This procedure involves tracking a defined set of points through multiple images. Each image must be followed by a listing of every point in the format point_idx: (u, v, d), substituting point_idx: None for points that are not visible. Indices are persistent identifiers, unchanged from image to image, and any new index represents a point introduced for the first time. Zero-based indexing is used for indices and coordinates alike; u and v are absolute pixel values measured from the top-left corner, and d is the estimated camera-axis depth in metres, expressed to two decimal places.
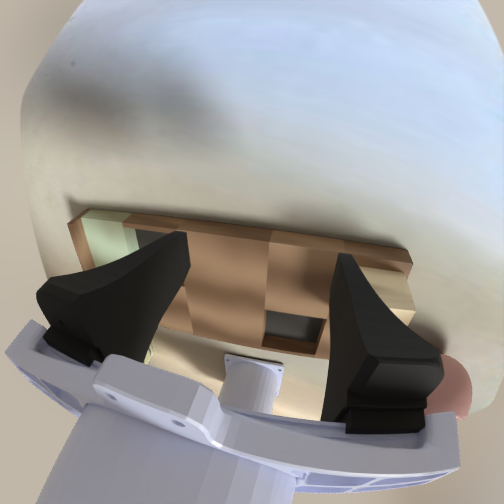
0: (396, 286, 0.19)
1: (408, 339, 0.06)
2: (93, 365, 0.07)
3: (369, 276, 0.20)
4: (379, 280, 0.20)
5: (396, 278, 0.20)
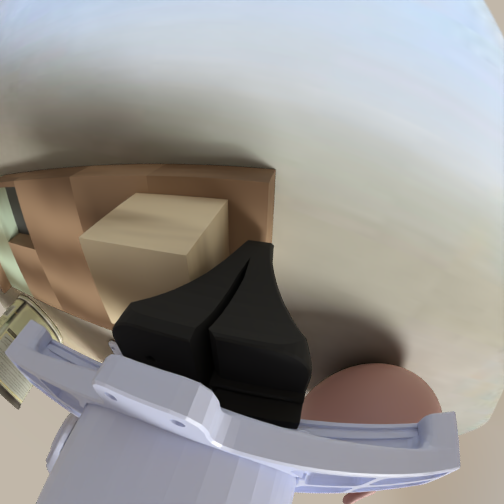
0: (186, 217, 0.11)
1: (274, 323, 0.07)
2: None
3: (149, 204, 0.12)
4: (161, 209, 0.11)
5: (200, 206, 0.12)
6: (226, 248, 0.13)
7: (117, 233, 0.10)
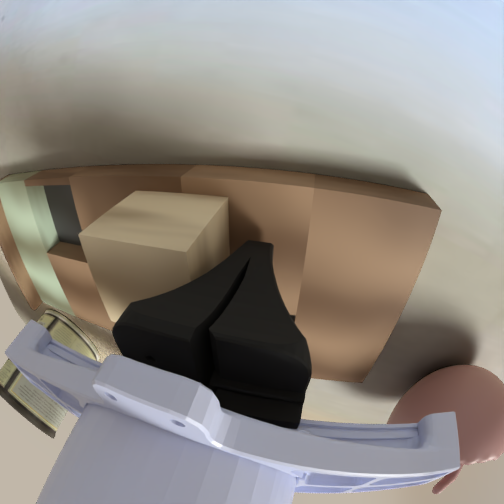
0: (186, 214, 0.11)
1: (274, 323, 0.07)
2: None
3: (150, 201, 0.12)
4: (161, 206, 0.11)
5: (200, 203, 0.12)
6: (226, 246, 0.13)
7: (117, 230, 0.10)
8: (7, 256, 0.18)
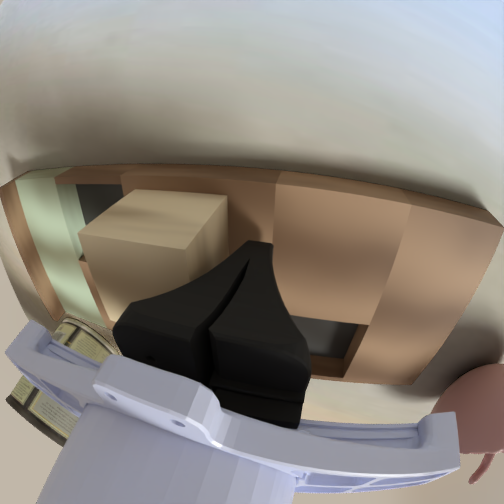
0: (185, 212, 0.11)
1: (274, 323, 0.07)
2: None
3: (149, 200, 0.12)
4: (160, 204, 0.11)
5: (199, 201, 0.12)
6: (225, 244, 0.13)
7: (116, 228, 0.10)
8: (26, 263, 0.18)
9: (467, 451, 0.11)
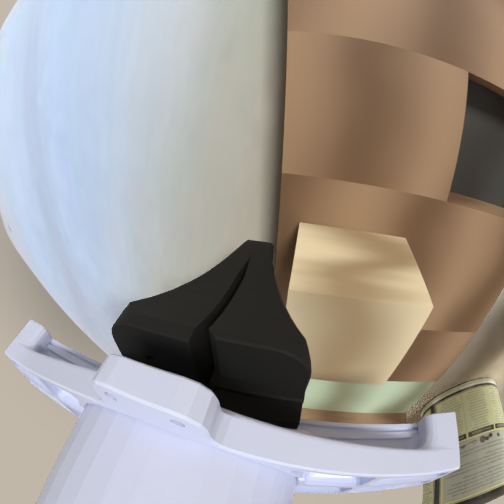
0: None
1: (274, 323, 0.07)
2: None
3: None
4: None
5: None
6: (352, 234, 0.11)
7: None
8: None
9: None
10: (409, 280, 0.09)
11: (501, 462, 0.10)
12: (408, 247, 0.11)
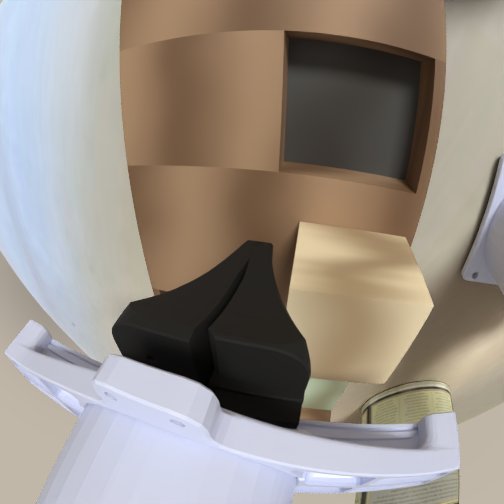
0: None
1: (274, 323, 0.07)
2: None
3: None
4: None
5: None
6: (352, 233, 0.11)
7: None
8: None
9: None
10: (409, 279, 0.09)
11: (441, 480, 0.11)
12: (408, 246, 0.11)
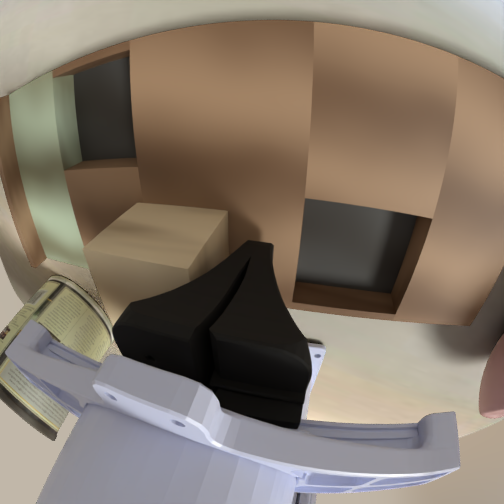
0: (187, 228, 0.11)
1: (274, 323, 0.07)
2: None
3: (151, 215, 0.12)
4: (162, 220, 0.12)
5: (200, 217, 0.12)
6: (226, 257, 0.14)
7: (120, 245, 0.10)
8: (7, 189, 0.14)
9: None
10: None
11: None
12: None
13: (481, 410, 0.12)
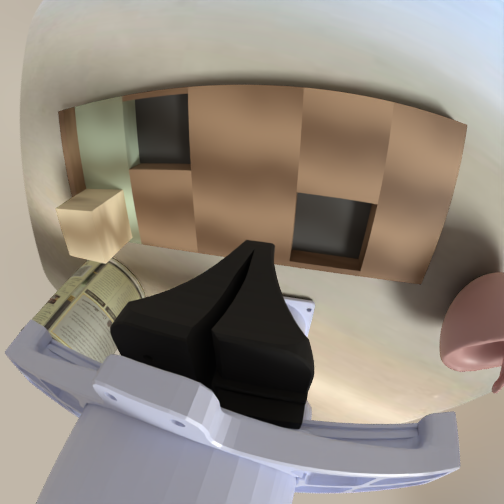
0: (100, 198, 0.21)
1: (277, 324, 0.07)
2: None
3: (89, 193, 0.22)
4: (92, 195, 0.22)
5: (109, 193, 0.22)
6: (124, 215, 0.23)
7: (71, 206, 0.20)
8: (72, 180, 0.21)
9: (485, 338, 0.14)
10: (112, 249, 0.22)
11: (103, 358, 0.24)
12: (127, 241, 0.25)
13: (441, 356, 0.20)
